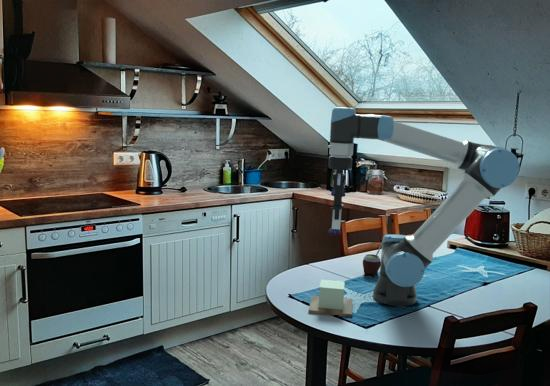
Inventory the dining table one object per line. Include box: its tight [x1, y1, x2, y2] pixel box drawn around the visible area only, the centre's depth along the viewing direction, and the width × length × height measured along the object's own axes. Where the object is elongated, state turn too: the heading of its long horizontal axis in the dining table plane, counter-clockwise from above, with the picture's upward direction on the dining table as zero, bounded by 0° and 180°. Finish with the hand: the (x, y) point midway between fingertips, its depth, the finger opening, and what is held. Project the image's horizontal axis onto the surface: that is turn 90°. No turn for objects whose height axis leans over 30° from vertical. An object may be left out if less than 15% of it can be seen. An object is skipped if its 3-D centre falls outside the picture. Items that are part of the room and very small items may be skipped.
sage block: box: [318, 279, 346, 310], centre depth 182 cm, size 8×8×7 cm
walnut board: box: [308, 294, 353, 318], centre depth 183 cm, size 14×14×1 cm
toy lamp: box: [327, 187, 346, 236], centre depth 177 cm, size 5×5×17 cm
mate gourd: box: [362, 243, 382, 279], centre depth 218 cm, size 8×8×15 cm
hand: (336, 227), depth 178 cm, fingers closed on toy lamp, 3 cm apart
